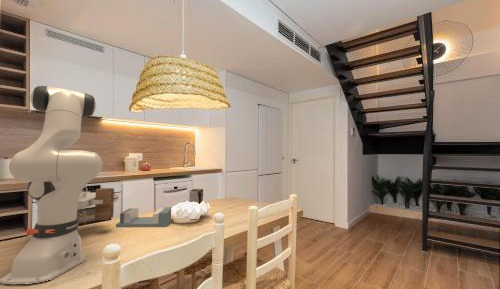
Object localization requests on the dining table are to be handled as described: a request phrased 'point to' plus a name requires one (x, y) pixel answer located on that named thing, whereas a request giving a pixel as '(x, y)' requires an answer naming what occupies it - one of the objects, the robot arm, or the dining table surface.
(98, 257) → the dining table surface
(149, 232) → the dining table surface
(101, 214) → the walnut block
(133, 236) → the dining table surface
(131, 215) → the vise jaw
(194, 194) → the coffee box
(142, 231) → the dining table surface
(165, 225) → the vise base
